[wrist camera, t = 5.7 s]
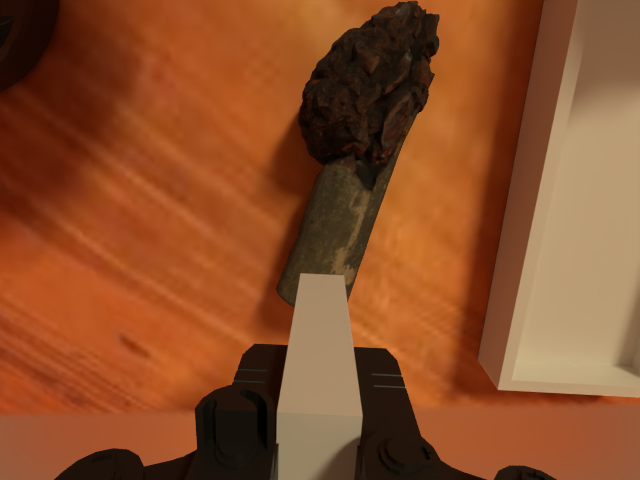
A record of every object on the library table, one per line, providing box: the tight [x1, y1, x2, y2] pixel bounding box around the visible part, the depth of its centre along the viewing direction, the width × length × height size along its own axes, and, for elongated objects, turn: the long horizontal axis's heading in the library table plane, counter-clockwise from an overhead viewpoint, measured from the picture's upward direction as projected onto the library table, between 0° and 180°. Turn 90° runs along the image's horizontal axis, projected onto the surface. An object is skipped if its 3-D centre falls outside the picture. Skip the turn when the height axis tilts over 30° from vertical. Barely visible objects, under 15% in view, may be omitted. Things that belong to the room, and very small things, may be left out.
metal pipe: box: [276, 1, 440, 307], centre depth 22 cm, size 18×7×6 cm, turn 161°
